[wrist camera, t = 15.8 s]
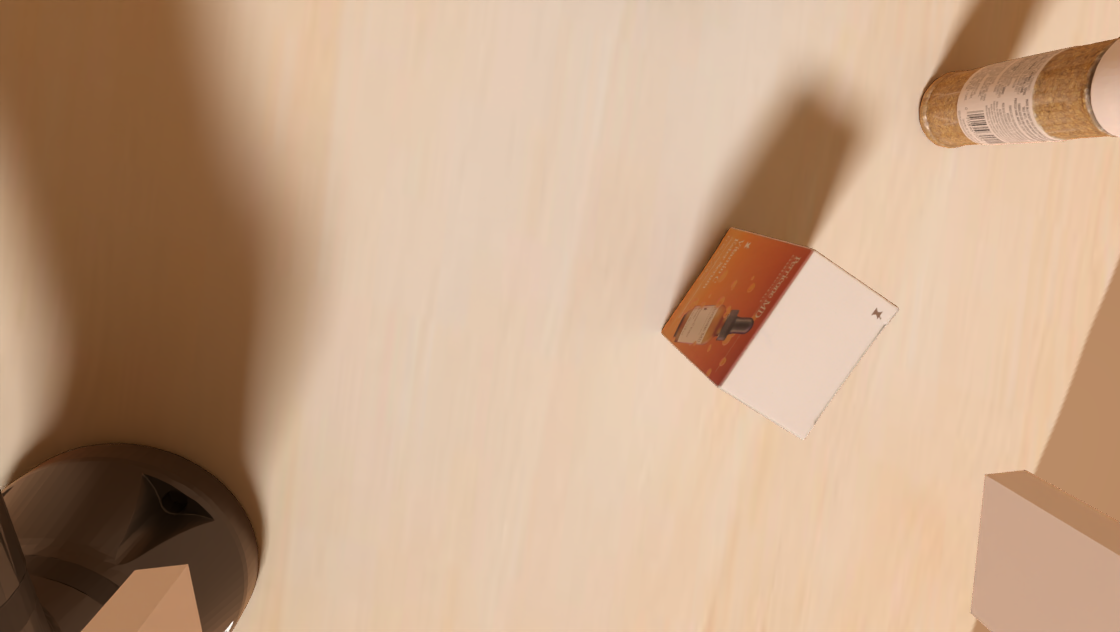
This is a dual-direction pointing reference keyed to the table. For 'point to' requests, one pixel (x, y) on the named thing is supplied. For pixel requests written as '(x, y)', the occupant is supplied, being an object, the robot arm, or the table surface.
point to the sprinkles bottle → (1028, 99)
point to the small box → (777, 326)
